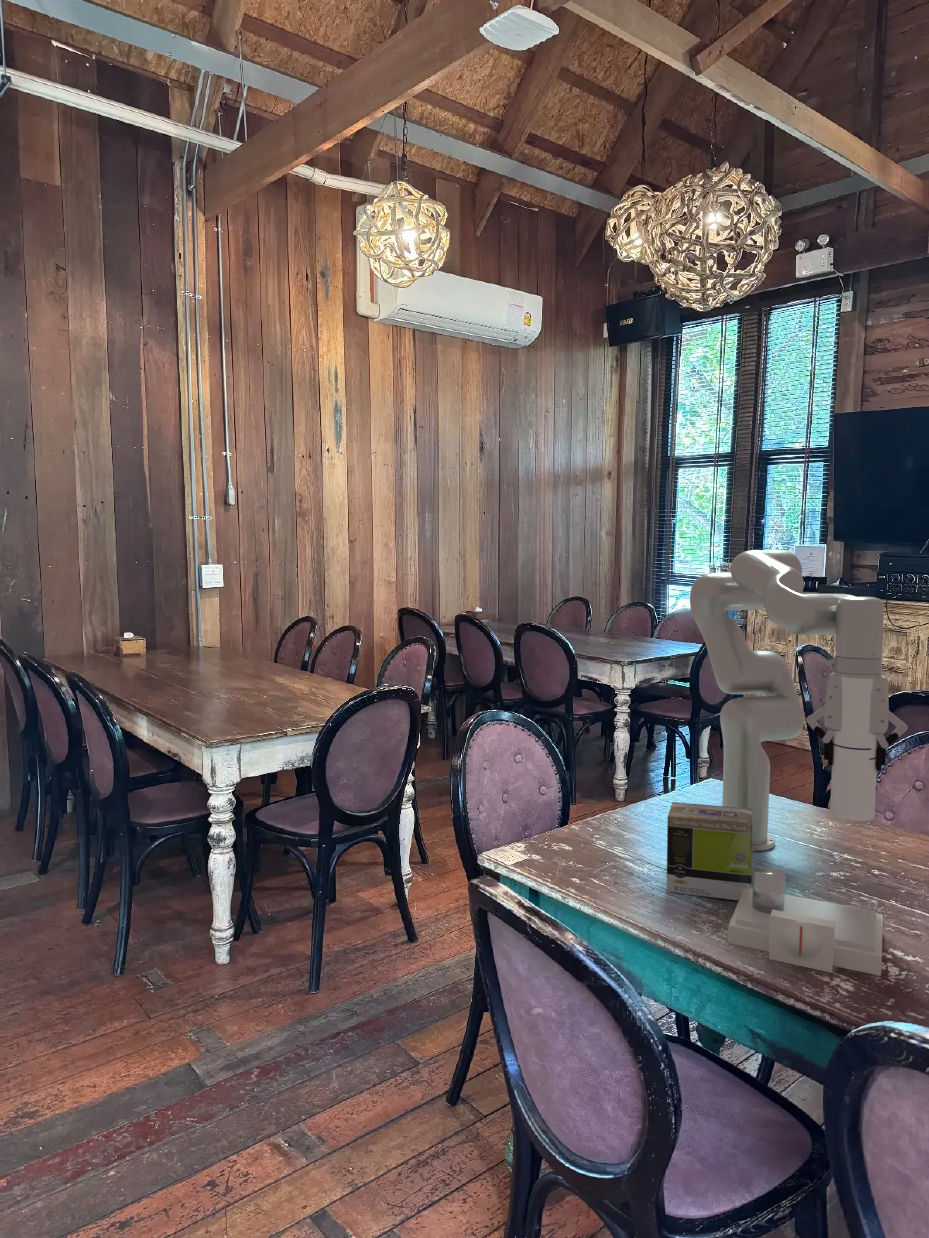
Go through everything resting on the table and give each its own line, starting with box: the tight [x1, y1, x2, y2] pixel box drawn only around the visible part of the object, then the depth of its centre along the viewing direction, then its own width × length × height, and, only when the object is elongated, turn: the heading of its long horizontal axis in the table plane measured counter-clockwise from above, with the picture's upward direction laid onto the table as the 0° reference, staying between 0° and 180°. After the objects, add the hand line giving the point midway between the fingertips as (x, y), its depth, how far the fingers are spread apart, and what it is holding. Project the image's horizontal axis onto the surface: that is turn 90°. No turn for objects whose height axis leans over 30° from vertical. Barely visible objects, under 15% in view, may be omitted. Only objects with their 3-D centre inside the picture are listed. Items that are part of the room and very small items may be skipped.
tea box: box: [666, 801, 753, 902], centre depth 154 cm, size 15×10×15 cm
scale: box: [727, 887, 884, 977], centre depth 134 cm, size 22×19×7 cm
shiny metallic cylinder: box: [752, 866, 786, 914], centre depth 137 cm, size 5×5×6 cm
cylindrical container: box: [829, 676, 879, 822], centre depth 146 cm, size 7×7×25 cm
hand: (854, 765), depth 146 cm, fingers closed on cylindrical container, 7 cm apart
